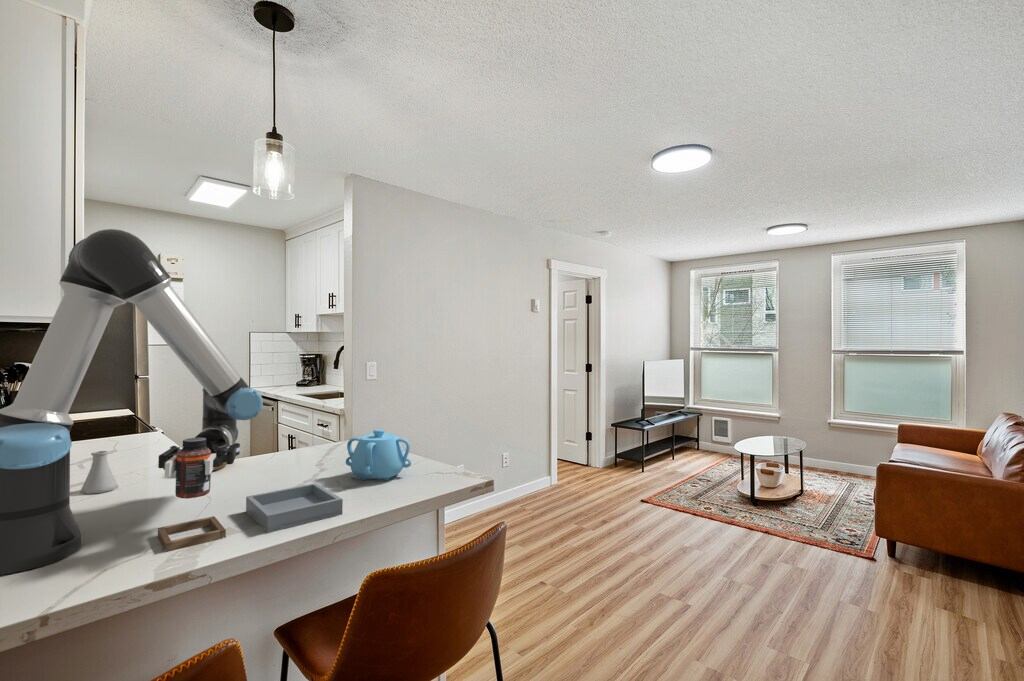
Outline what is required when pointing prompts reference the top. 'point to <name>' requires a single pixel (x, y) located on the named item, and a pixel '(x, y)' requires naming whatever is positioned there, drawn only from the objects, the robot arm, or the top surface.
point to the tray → (293, 506)
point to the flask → (99, 475)
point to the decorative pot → (378, 455)
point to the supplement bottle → (192, 469)
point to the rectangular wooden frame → (191, 540)
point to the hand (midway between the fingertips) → (187, 468)
